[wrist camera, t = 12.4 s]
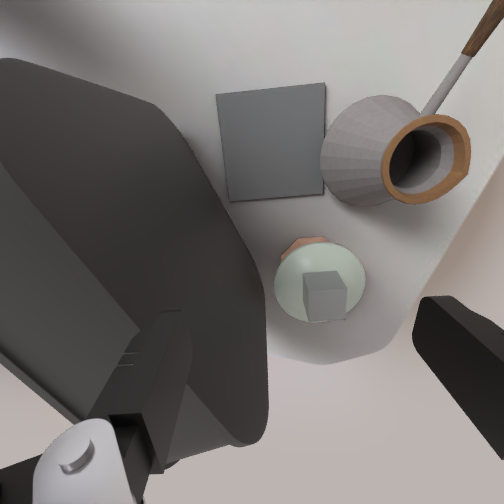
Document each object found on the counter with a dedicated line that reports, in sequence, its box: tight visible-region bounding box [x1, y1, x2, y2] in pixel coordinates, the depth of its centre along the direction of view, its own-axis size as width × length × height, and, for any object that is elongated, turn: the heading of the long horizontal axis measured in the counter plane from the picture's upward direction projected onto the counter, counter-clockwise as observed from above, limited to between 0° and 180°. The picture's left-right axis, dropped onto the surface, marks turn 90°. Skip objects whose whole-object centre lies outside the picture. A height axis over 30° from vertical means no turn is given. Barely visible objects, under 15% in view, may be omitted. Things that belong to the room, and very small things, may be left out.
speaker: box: [0, 58, 269, 470], centre depth 23 cm, size 25×9×25 cm, turn 27°
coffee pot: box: [320, 0, 504, 206], centre depth 22 cm, size 21×12×15 cm, turn 165°
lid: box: [274, 242, 366, 323], centre depth 30 cm, size 11×11×5 cm
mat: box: [216, 83, 325, 201], centre depth 31 cm, size 12×12×1 cm
